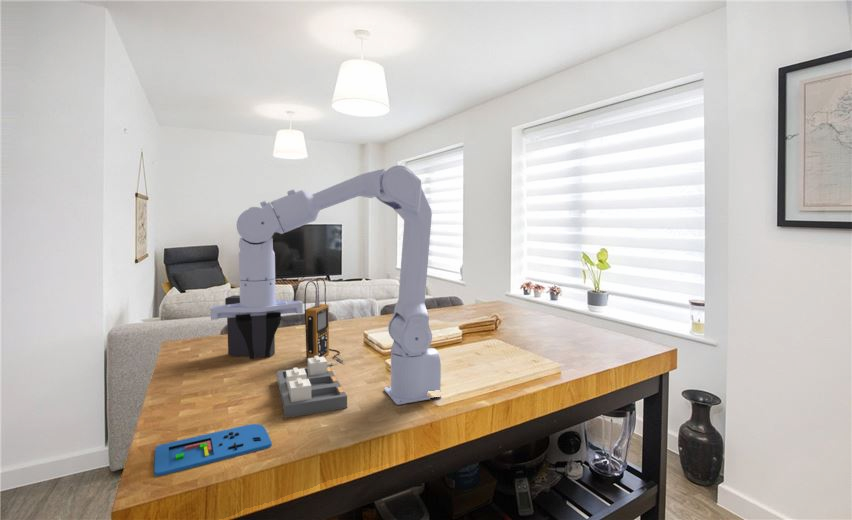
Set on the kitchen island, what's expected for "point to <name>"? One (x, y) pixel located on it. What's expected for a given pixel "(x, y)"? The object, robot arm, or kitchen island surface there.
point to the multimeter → (317, 328)
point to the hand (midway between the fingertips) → (259, 356)
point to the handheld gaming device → (209, 448)
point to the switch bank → (314, 394)
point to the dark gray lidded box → (236, 338)
